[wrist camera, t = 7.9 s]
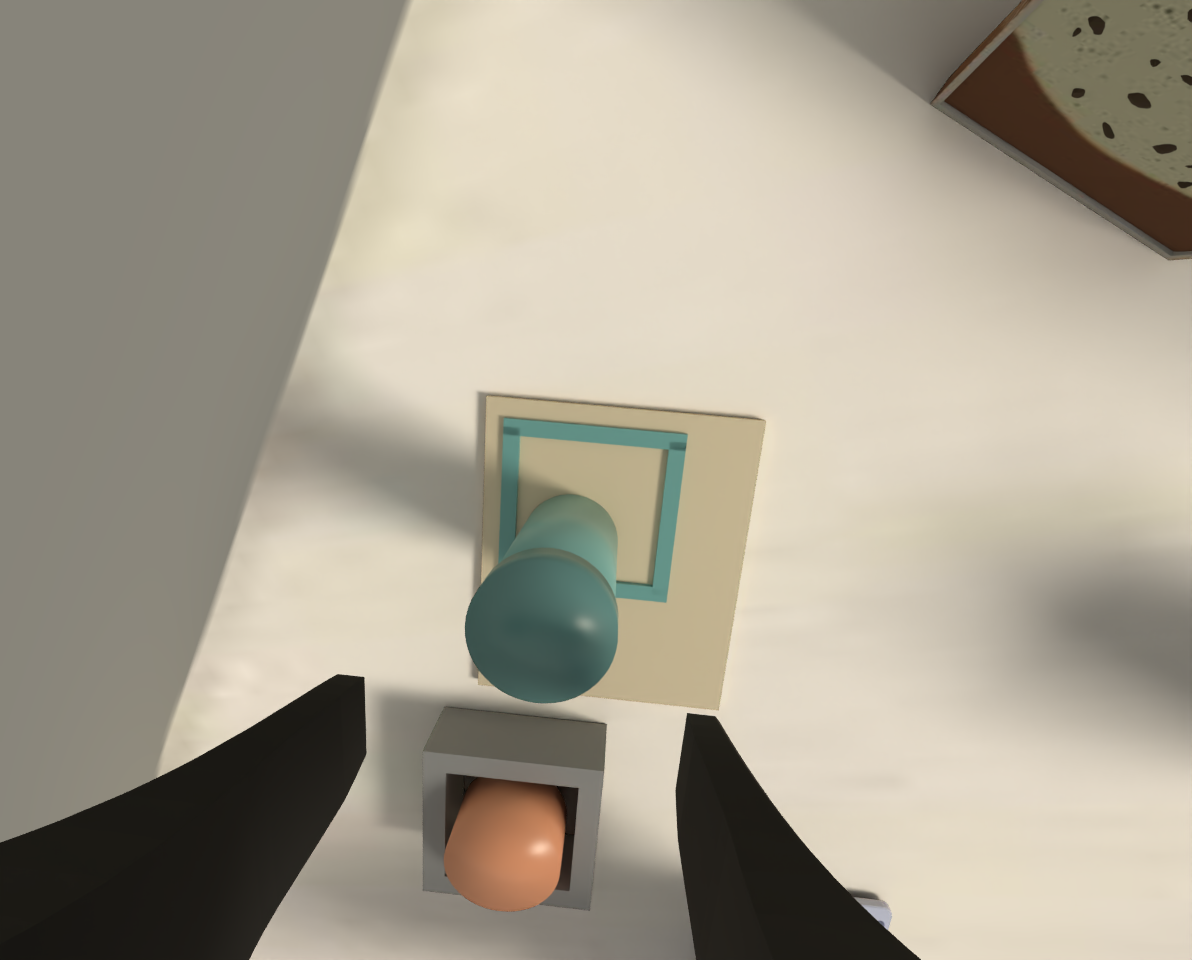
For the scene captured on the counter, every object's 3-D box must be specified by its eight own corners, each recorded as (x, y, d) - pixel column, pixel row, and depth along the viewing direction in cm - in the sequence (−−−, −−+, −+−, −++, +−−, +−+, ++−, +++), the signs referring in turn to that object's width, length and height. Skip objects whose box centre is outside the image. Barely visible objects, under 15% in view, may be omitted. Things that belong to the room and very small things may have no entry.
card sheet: (717, 705, 23) (719, 713, 22) (479, 680, 23) (476, 687, 23) (764, 420, 20) (767, 421, 19) (488, 395, 20) (484, 396, 20)
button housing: (593, 853, 25) (589, 910, 23) (443, 835, 26) (422, 890, 23) (606, 724, 23) (604, 771, 21) (444, 706, 24) (422, 751, 21)
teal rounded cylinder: (615, 592, 21) (610, 710, 14) (518, 582, 21) (462, 694, 14) (625, 496, 20) (624, 569, 13) (523, 487, 21) (467, 553, 13)
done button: (563, 857, 24) (556, 917, 21) (462, 845, 24) (443, 904, 21) (570, 773, 22) (563, 826, 20) (464, 761, 23) (444, 812, 20)
